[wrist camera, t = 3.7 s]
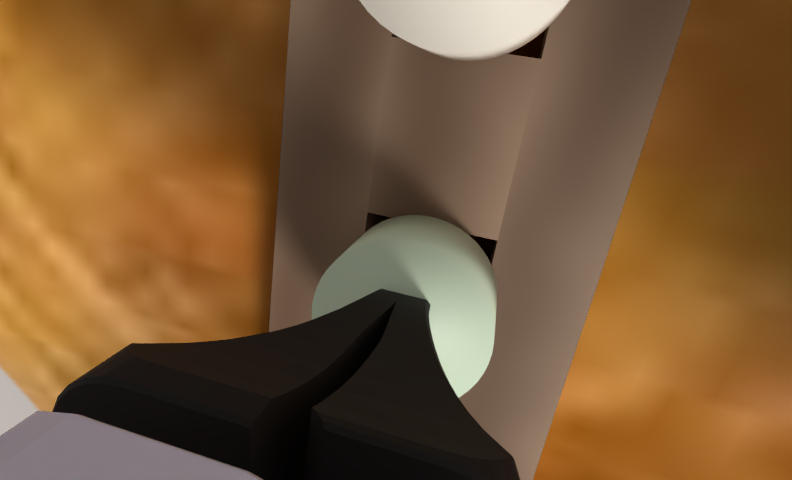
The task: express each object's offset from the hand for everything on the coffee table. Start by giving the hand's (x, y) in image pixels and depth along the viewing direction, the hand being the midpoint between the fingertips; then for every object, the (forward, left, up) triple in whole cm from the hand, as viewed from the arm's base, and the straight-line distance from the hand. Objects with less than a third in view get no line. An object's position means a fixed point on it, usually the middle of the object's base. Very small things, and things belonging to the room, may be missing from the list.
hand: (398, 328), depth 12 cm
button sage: (0, 0, -4) cm, 4 cm away
